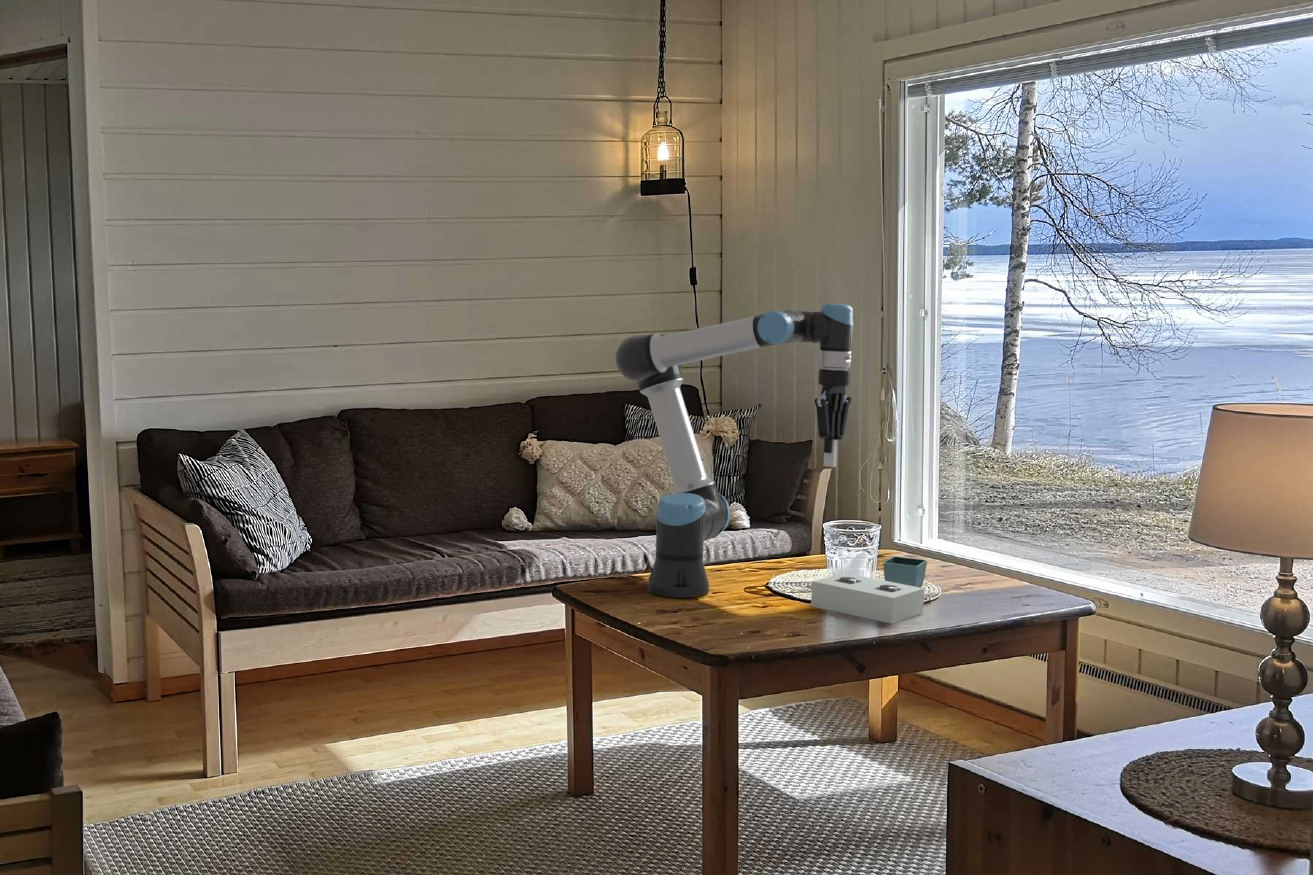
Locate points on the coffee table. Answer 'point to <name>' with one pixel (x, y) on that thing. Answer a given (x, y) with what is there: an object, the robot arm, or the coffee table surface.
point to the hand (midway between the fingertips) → (829, 466)
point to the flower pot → (905, 571)
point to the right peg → (888, 588)
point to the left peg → (847, 580)
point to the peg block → (867, 598)
